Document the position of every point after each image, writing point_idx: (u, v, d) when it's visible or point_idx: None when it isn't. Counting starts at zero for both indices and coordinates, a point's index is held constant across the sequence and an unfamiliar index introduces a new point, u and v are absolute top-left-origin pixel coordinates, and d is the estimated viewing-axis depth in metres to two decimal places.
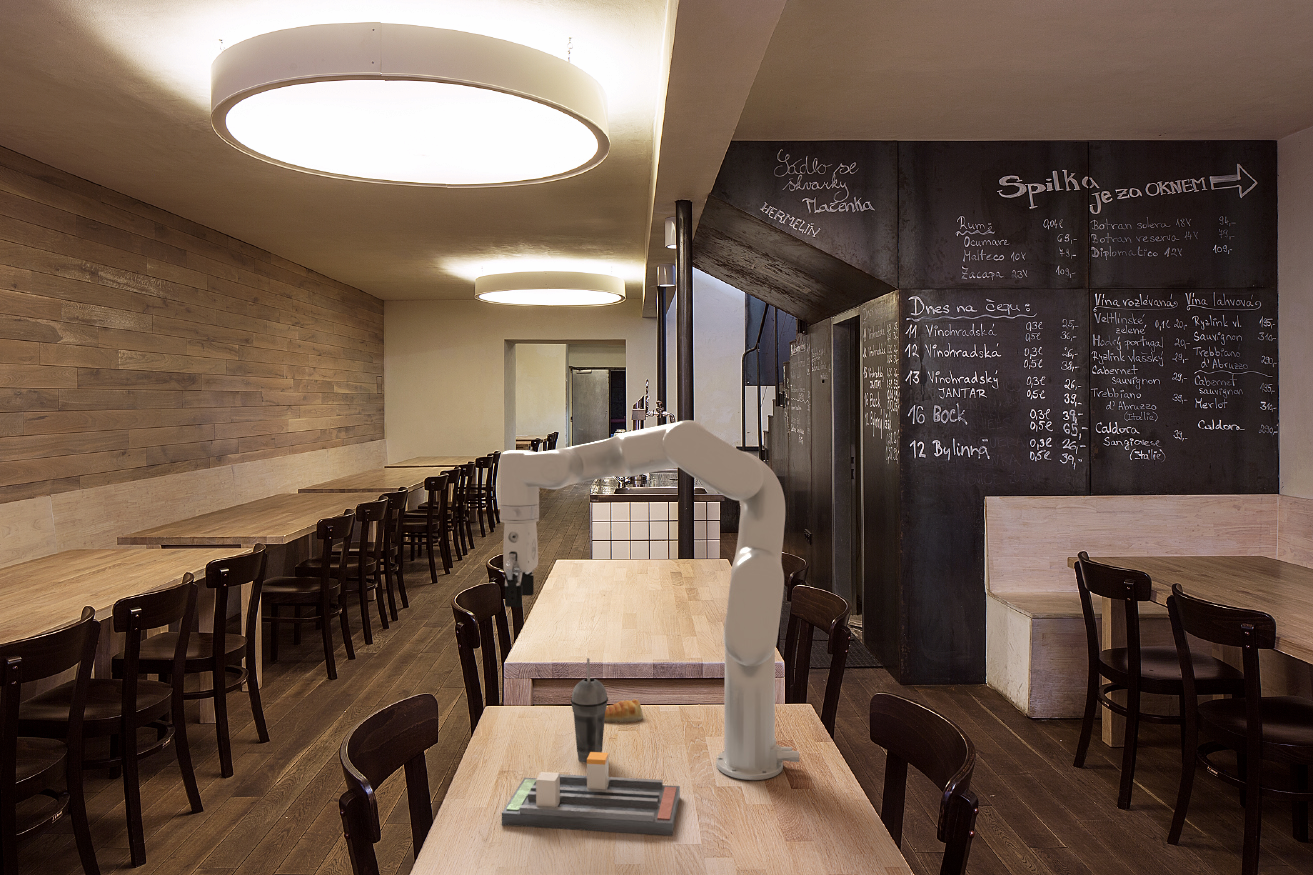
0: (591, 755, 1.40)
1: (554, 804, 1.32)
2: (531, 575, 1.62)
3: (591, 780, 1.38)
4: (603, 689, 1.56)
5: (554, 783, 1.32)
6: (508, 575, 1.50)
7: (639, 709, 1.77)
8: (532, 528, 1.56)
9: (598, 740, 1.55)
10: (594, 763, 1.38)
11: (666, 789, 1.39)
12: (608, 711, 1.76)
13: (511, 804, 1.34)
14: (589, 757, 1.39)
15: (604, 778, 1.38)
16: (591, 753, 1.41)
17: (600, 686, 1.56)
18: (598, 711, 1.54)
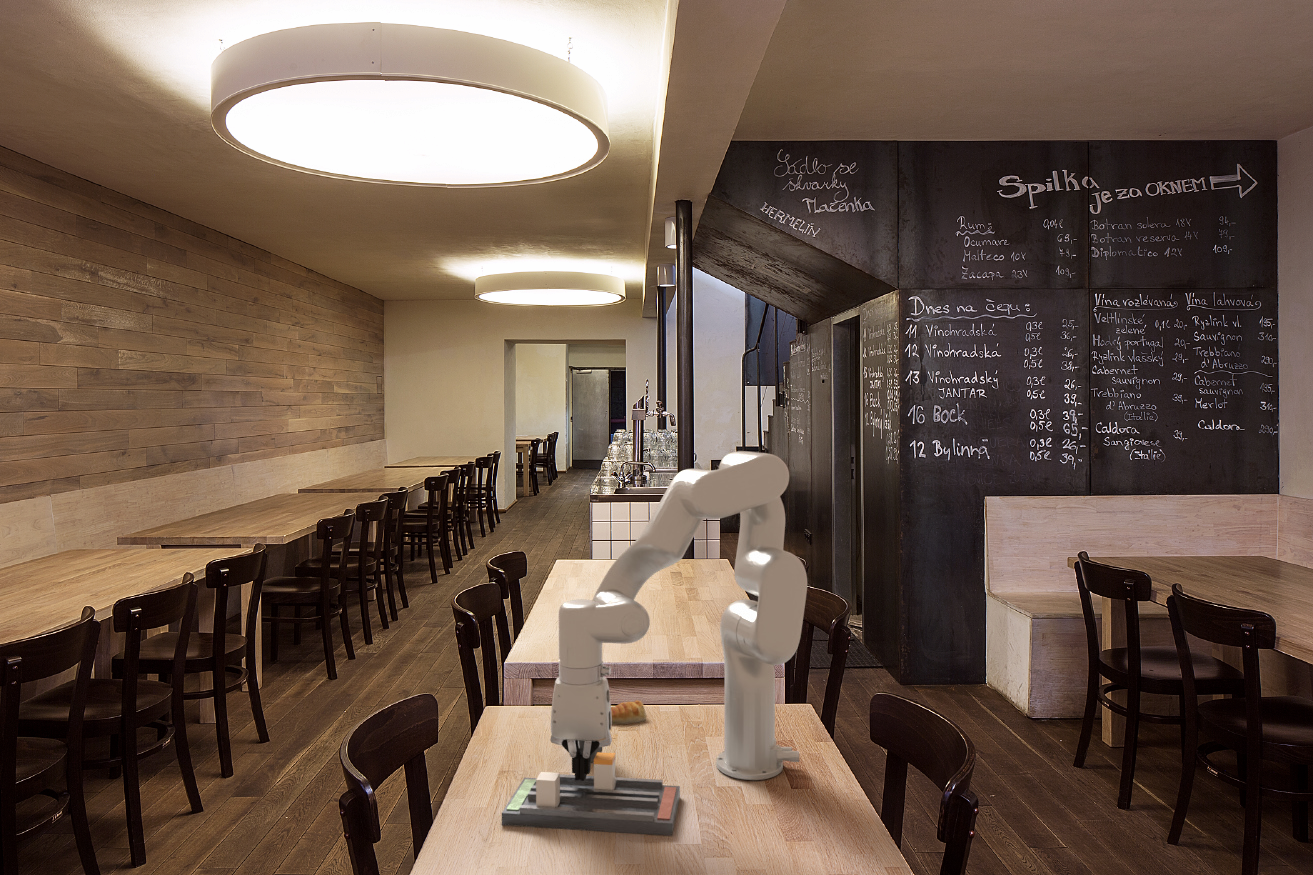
0: (598, 756, 1.40)
1: (554, 804, 1.32)
2: None
3: (598, 780, 1.38)
4: None
5: (554, 783, 1.32)
6: None
7: (642, 710, 1.77)
8: None
9: None
10: (601, 763, 1.38)
11: (666, 789, 1.39)
12: (612, 713, 1.75)
13: (511, 804, 1.34)
14: (596, 757, 1.39)
15: (611, 778, 1.38)
16: (598, 753, 1.41)
17: None
18: None
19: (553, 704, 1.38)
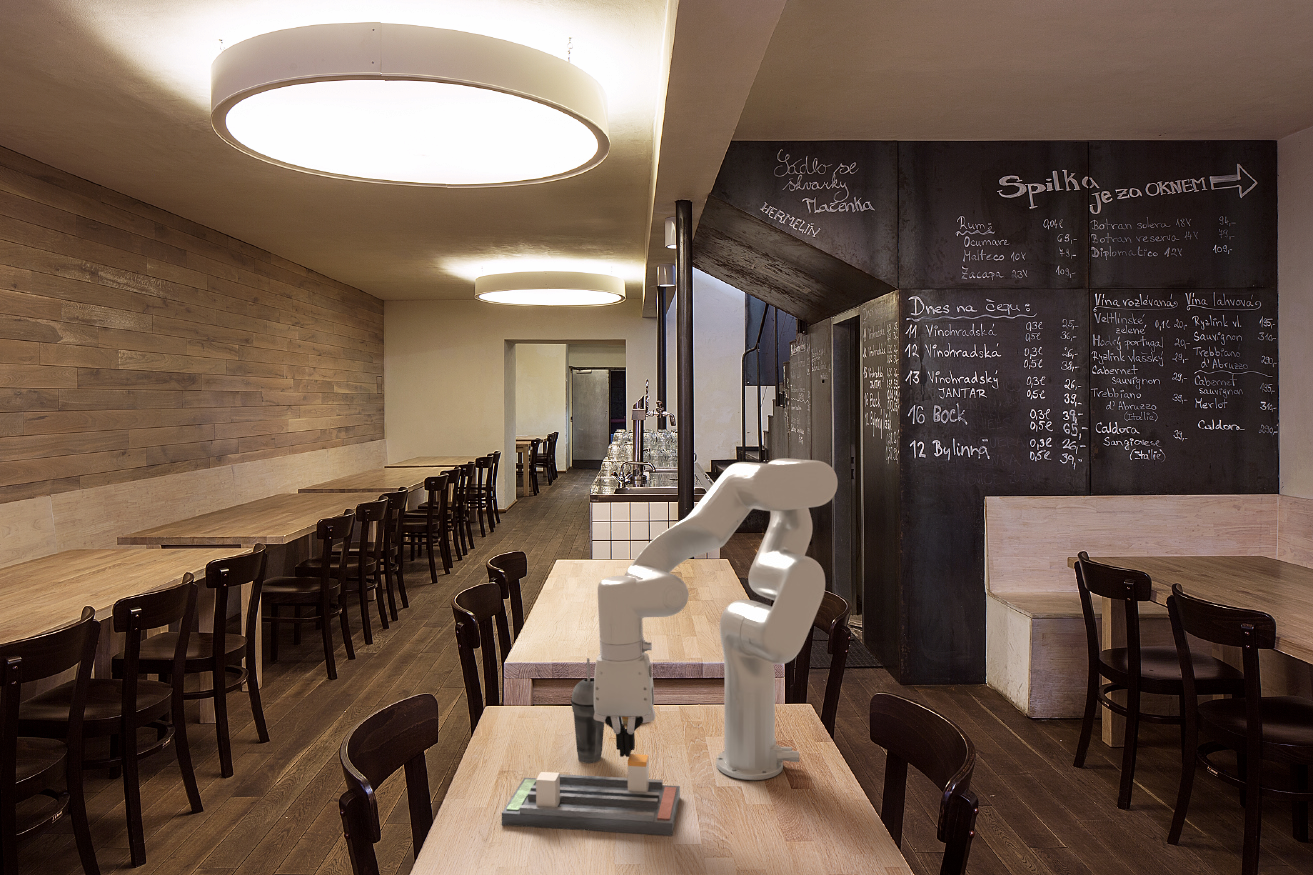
0: (631, 757, 1.39)
1: (554, 804, 1.32)
2: None
3: (631, 782, 1.38)
4: None
5: (554, 783, 1.32)
6: None
7: None
8: None
9: (598, 740, 1.55)
10: (635, 765, 1.37)
11: (666, 789, 1.39)
12: None
13: (511, 804, 1.34)
14: (630, 759, 1.38)
15: (645, 780, 1.37)
16: (631, 755, 1.40)
17: None
18: None
19: (595, 681, 1.38)
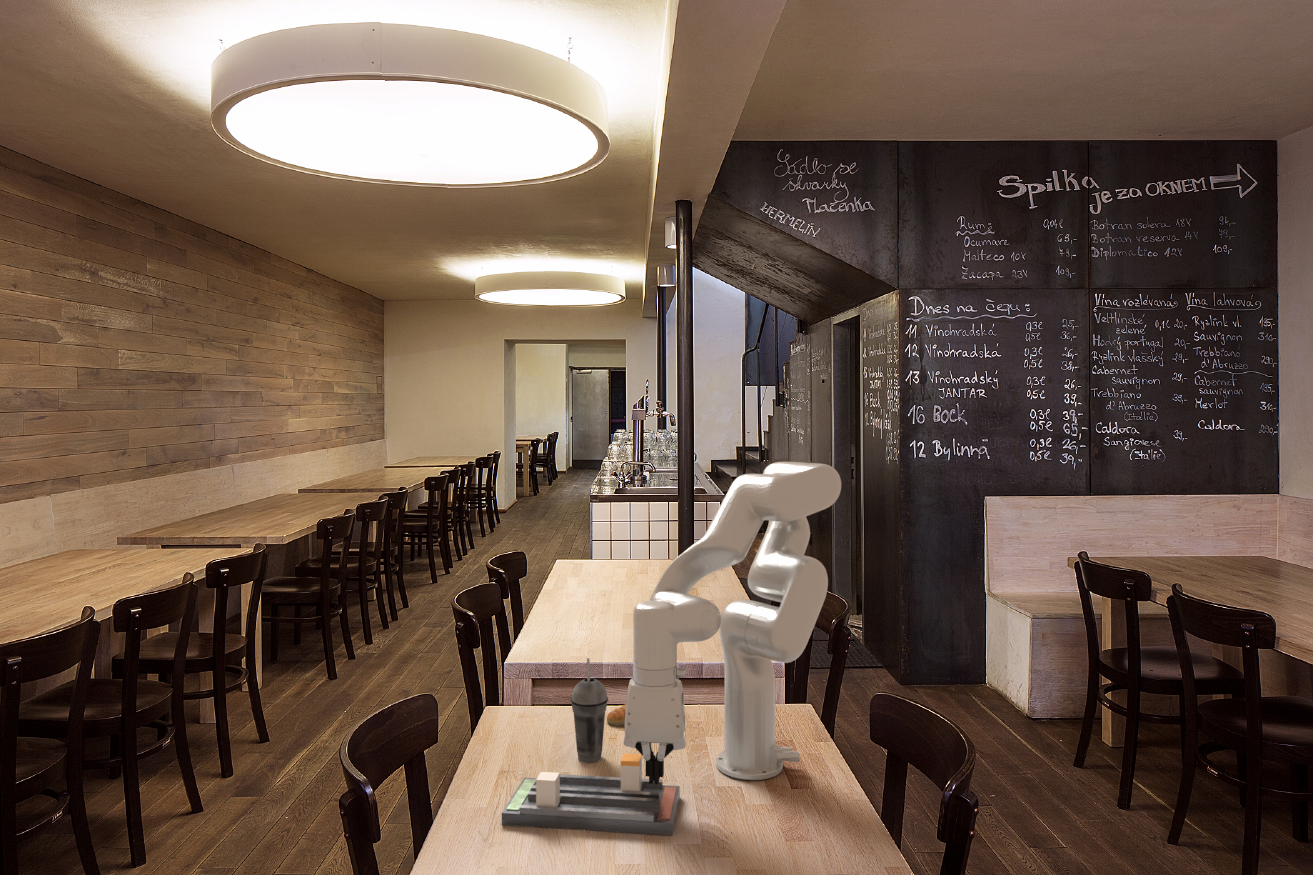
0: (624, 757, 1.39)
1: (554, 804, 1.32)
2: None
3: (625, 782, 1.38)
4: (603, 689, 1.56)
5: (554, 783, 1.32)
6: None
7: None
8: None
9: (598, 740, 1.55)
10: (628, 765, 1.38)
11: (666, 789, 1.39)
12: (617, 715, 1.74)
13: (511, 804, 1.34)
14: (623, 759, 1.38)
15: (638, 780, 1.38)
16: (624, 755, 1.40)
17: (600, 686, 1.56)
18: (598, 711, 1.54)
19: (628, 706, 1.37)
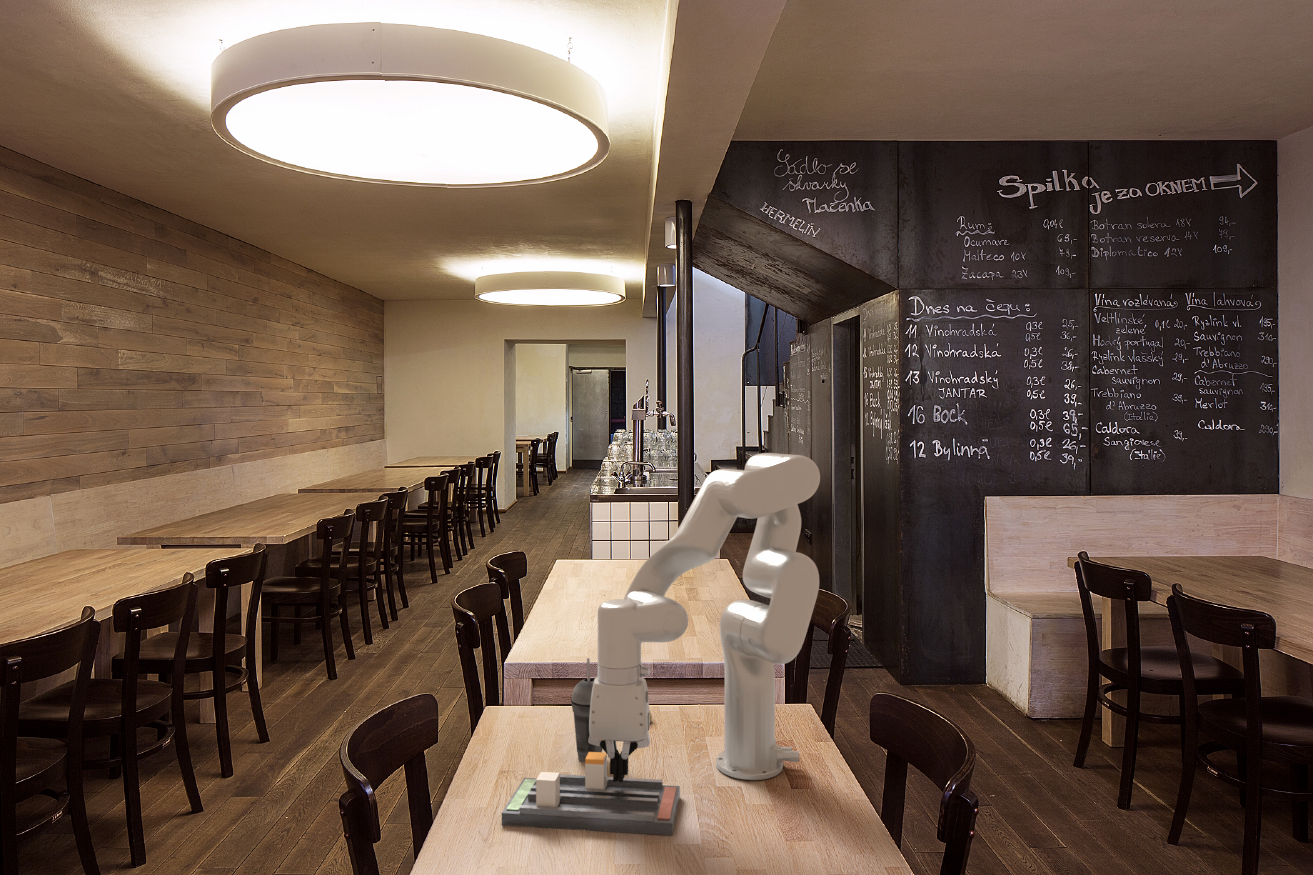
0: (589, 755, 1.40)
1: (554, 804, 1.32)
2: None
3: (589, 780, 1.38)
4: None
5: (554, 783, 1.32)
6: None
7: None
8: None
9: None
10: (592, 763, 1.38)
11: (666, 789, 1.39)
12: None
13: (511, 804, 1.34)
14: (587, 757, 1.39)
15: (602, 778, 1.38)
16: (589, 753, 1.41)
17: None
18: None
19: (592, 705, 1.37)
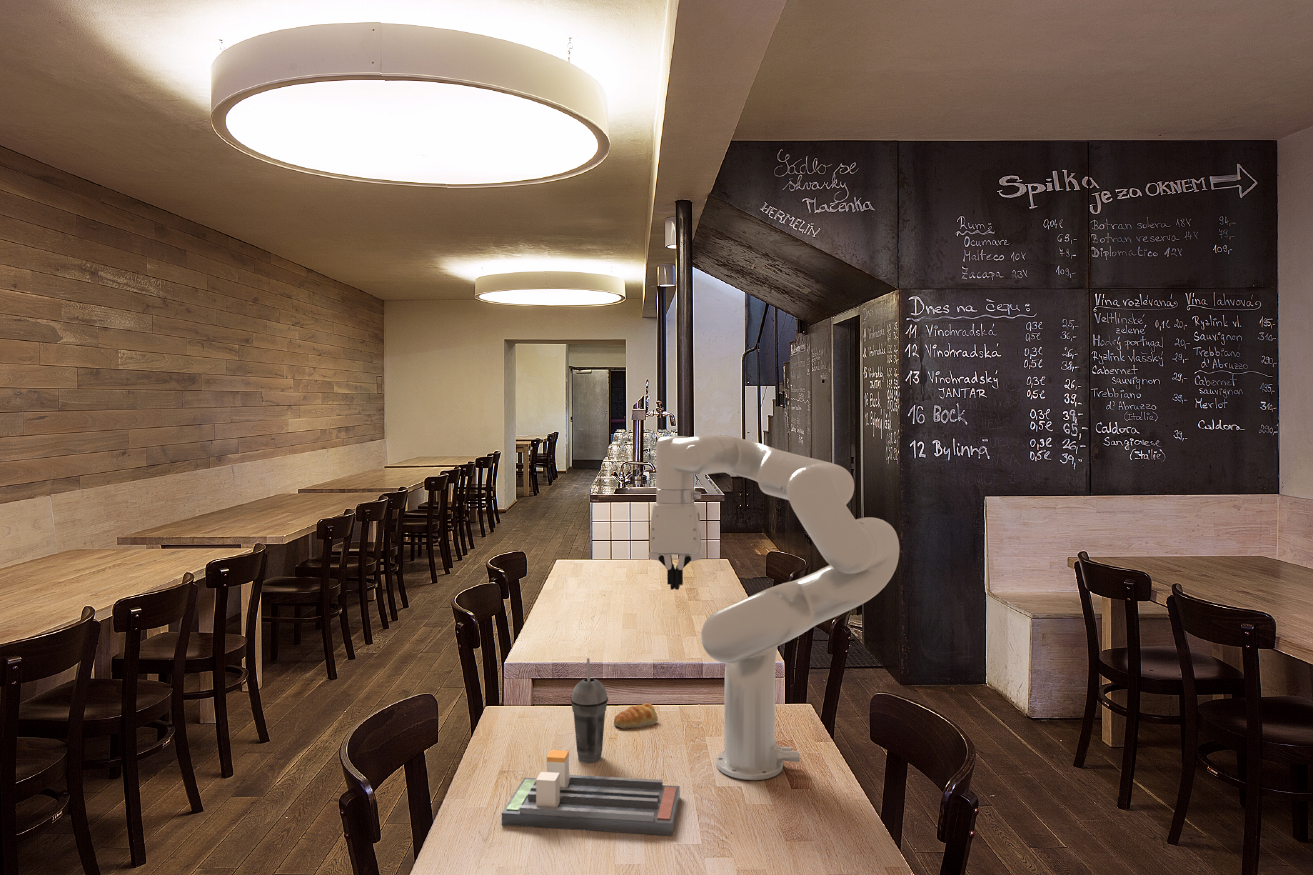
0: (551, 753, 1.41)
1: (554, 804, 1.32)
2: None
3: None
4: (603, 689, 1.56)
5: (554, 783, 1.32)
6: (692, 560, 1.62)
7: (654, 712, 1.75)
8: None
9: (598, 740, 1.55)
10: (554, 761, 1.39)
11: (666, 789, 1.39)
12: (625, 718, 1.73)
13: (511, 804, 1.34)
14: (549, 755, 1.40)
15: (564, 776, 1.39)
16: (551, 751, 1.42)
17: (600, 686, 1.56)
18: (598, 711, 1.54)
19: (652, 523, 1.61)
